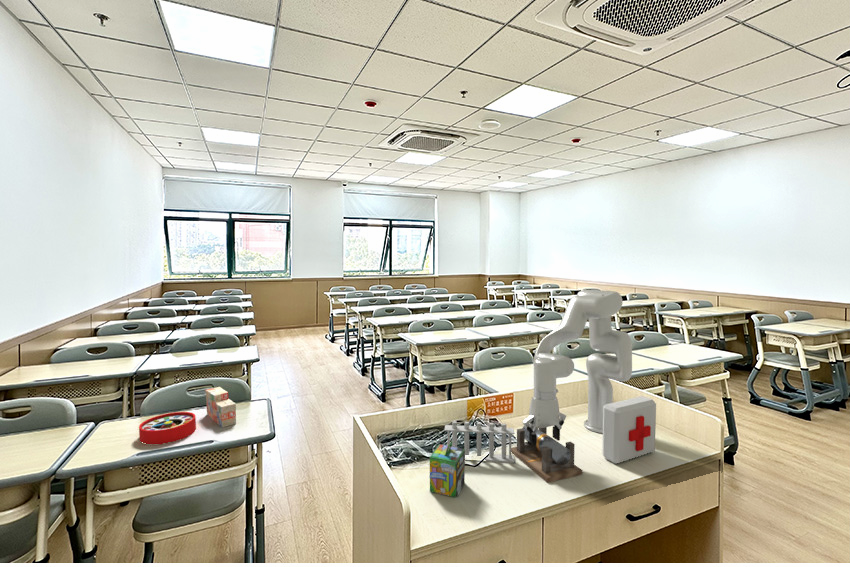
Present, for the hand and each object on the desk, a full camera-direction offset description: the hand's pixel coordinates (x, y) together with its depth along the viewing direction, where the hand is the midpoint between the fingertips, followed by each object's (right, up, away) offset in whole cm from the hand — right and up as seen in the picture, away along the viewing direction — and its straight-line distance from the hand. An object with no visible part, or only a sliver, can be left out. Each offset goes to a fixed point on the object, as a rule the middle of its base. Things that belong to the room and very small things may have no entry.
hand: (544, 441), depth 140 cm
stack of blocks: (-136, -7, +42) cm, 143 cm away
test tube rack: (-23, -8, +4) cm, 24 cm away
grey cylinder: (0, -1, 0) cm, 1 cm away
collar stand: (0, -8, 0) cm, 8 cm away
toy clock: (-151, -8, +27) cm, 153 cm away
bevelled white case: (+32, -7, +4) cm, 33 cm away
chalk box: (-35, -9, -14) cm, 39 cm away
